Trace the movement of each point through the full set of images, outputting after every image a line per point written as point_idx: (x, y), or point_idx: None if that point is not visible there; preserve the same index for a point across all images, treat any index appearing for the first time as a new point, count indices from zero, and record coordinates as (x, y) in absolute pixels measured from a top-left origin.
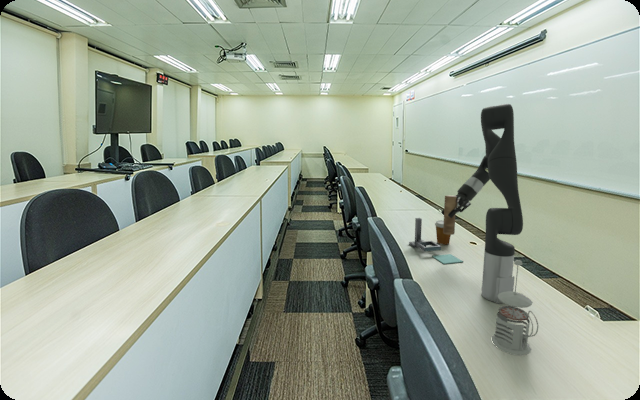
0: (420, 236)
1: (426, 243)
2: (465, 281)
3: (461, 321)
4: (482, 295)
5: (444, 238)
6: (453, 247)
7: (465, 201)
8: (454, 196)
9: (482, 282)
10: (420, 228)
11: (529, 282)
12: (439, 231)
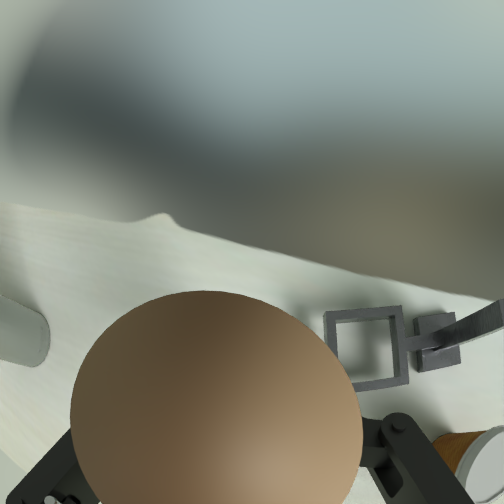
0: (449, 343)
1: (396, 355)
2: (97, 332)
3: (21, 226)
4: (39, 313)
5: None
6: None
7: (31, 501)
8: (128, 490)
9: (23, 307)
10: (471, 333)
11: None
12: (464, 440)
